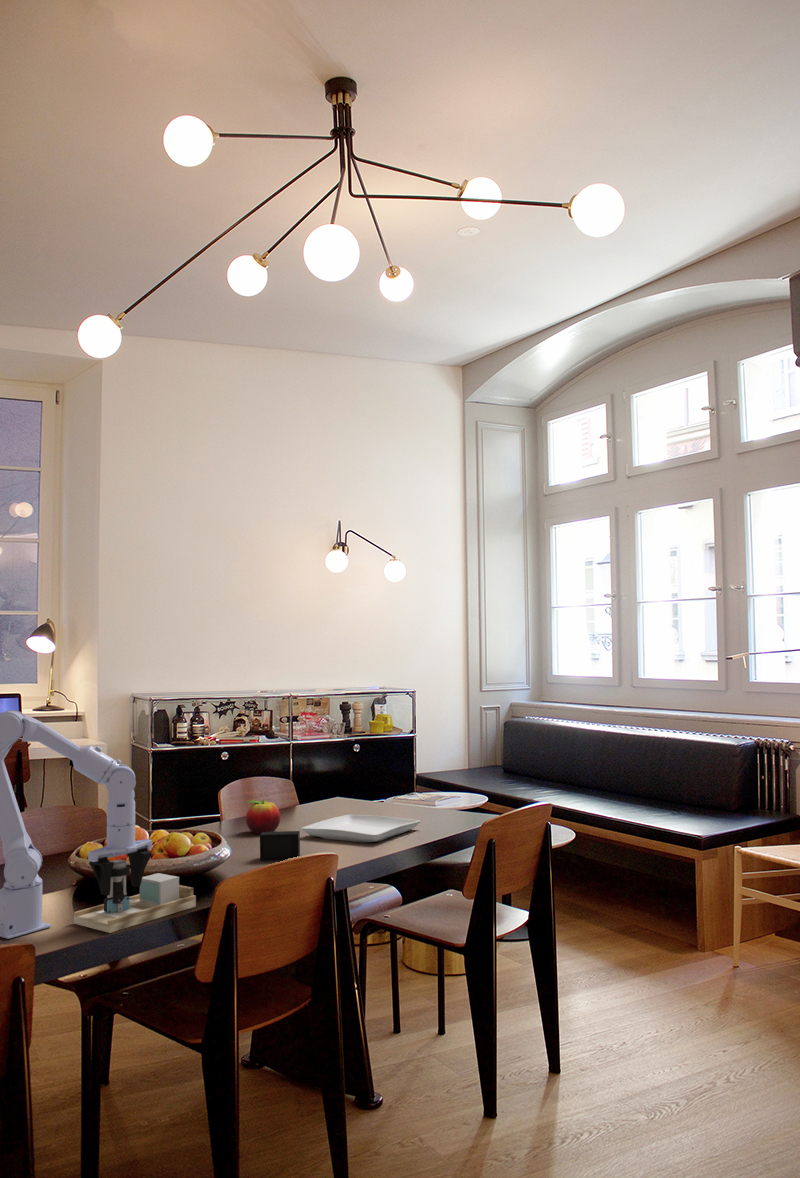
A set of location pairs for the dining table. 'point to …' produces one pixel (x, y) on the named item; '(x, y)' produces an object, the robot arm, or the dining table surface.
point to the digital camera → (279, 845)
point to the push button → (118, 888)
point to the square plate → (360, 827)
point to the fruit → (262, 817)
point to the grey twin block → (159, 889)
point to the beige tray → (133, 912)
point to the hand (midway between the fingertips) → (120, 890)
